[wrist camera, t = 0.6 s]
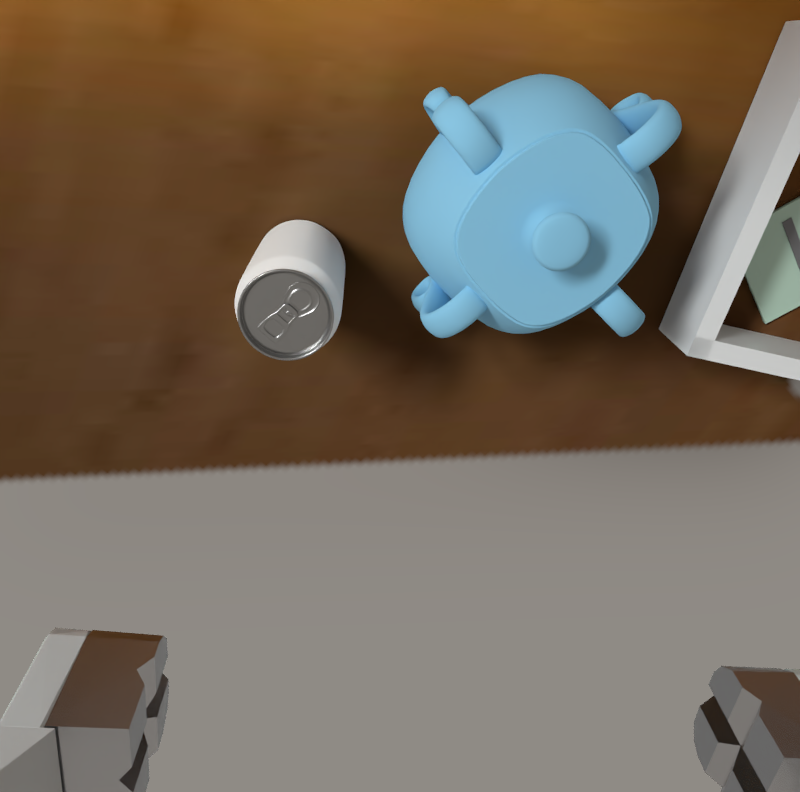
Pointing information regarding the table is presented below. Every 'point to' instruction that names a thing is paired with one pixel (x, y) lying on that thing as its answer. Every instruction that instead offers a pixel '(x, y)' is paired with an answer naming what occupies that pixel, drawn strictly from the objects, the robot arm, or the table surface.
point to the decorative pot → (534, 205)
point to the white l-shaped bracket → (749, 233)
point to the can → (292, 291)
